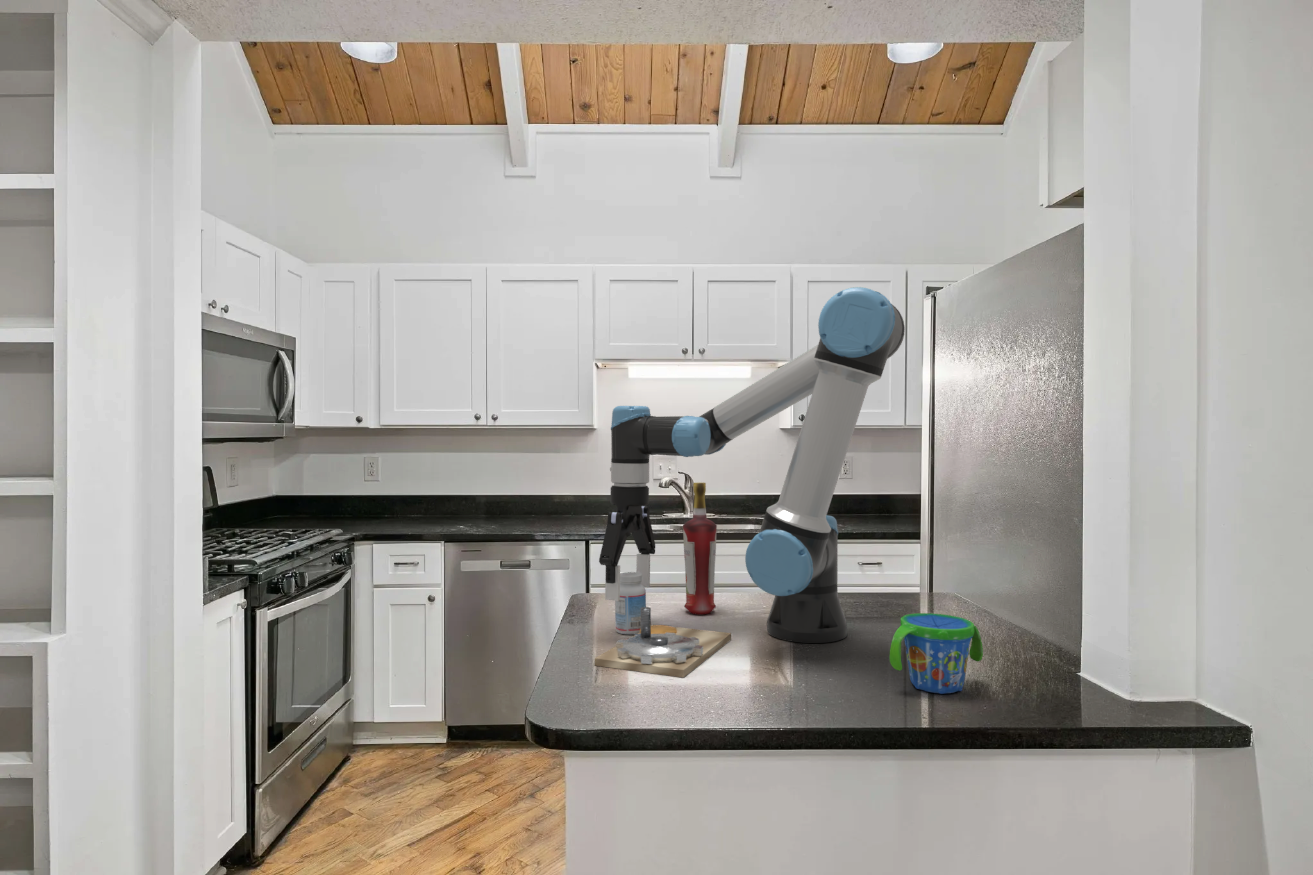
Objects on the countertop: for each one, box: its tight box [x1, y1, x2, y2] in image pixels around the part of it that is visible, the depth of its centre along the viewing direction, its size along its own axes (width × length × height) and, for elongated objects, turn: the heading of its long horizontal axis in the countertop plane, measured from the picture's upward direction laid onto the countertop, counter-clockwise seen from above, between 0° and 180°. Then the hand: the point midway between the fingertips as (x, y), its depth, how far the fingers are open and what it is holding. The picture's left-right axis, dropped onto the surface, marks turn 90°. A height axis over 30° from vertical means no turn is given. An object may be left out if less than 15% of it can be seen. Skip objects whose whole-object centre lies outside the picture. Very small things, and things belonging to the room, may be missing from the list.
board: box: [594, 626, 732, 678], centre depth 133 cm, size 16×24×1 cm, turn 156°
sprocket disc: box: [615, 606, 703, 664], centre depth 129 cm, size 15×15×6 cm
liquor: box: [682, 481, 718, 616], centre depth 163 cm, size 7×7×28 cm
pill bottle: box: [614, 571, 647, 636], centre depth 147 cm, size 6×6×11 cm
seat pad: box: [640, 624, 677, 634], centre depth 142 cm, size 7×7×1 cm
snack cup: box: [888, 612, 984, 695], centre depth 114 cm, size 16×10×10 cm
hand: (628, 592), depth 148 cm, fingers open, 13 cm apart
